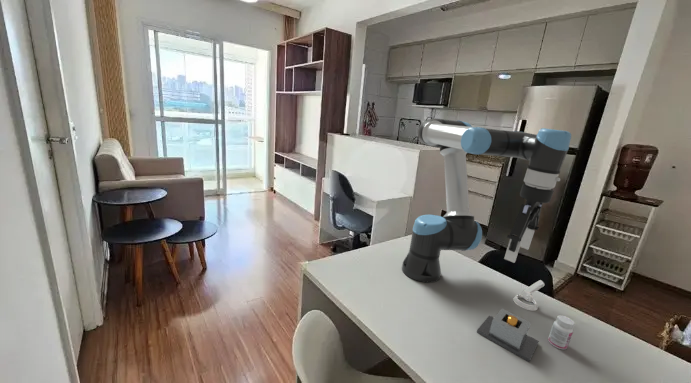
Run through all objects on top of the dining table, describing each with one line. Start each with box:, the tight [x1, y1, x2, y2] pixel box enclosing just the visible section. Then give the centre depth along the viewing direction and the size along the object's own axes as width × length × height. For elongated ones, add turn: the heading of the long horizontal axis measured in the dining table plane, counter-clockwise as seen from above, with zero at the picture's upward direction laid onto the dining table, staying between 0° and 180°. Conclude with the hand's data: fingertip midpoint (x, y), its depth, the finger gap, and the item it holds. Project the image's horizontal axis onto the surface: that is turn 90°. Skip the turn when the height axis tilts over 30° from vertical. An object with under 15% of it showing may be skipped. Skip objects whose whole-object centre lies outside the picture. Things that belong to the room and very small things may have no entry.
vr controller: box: [512, 279, 545, 312], centre depth 104 cm, size 8×12×7 cm
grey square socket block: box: [489, 308, 532, 350], centre depth 86 cm, size 8×8×5 cm
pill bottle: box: [547, 314, 575, 351], centre depth 85 cm, size 5×5×8 cm
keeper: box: [476, 315, 540, 363], centre depth 86 cm, size 14×10×7 cm
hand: (516, 253), depth 88 cm, fingers open, 13 cm apart
